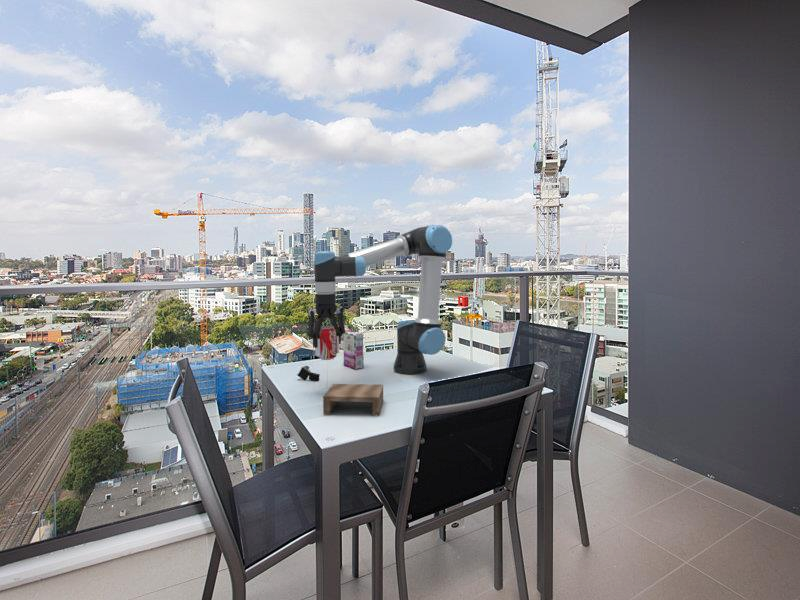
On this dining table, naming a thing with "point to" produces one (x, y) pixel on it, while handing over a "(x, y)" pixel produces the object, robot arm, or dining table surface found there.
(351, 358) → the candy bar box
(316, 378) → the lighter
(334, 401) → the walnut shelf
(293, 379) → the dining table surface
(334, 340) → the soda can
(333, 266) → the robot arm
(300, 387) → the dining table surface
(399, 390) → the dining table surface
